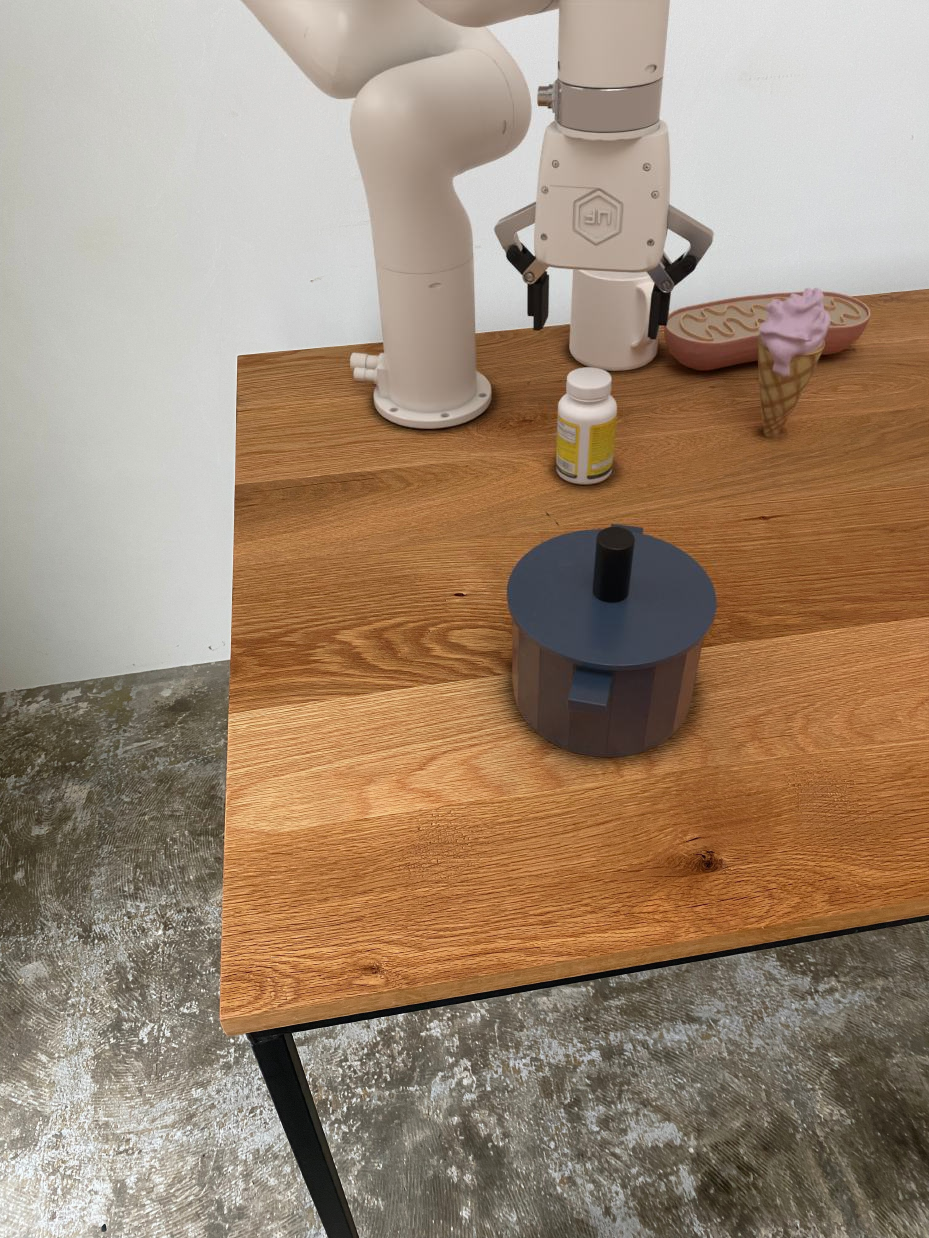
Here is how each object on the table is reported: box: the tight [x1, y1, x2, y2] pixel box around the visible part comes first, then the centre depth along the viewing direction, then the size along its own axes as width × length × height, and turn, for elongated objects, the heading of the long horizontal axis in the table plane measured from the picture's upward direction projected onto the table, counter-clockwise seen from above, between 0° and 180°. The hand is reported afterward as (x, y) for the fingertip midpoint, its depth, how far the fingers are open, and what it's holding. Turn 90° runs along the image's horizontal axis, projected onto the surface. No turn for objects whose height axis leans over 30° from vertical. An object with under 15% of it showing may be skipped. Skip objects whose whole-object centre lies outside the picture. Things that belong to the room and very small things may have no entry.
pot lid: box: [506, 526, 718, 671], centre depth 61 cm, size 14×14×6 cm
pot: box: [511, 523, 704, 758], centre depth 65 cm, size 13×18×9 cm
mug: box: [568, 269, 661, 372], centre depth 103 cm, size 13×10×10 cm
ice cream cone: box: [757, 287, 831, 439], centre depth 88 cm, size 7×6×15 cm
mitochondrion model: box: [663, 290, 872, 371], centre depth 104 cm, size 23×10×5 cm, turn 101°
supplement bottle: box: [555, 366, 618, 486], centre depth 86 cm, size 5×5×10 cm
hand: (596, 328), depth 80 cm, fingers open, 9 cm apart
